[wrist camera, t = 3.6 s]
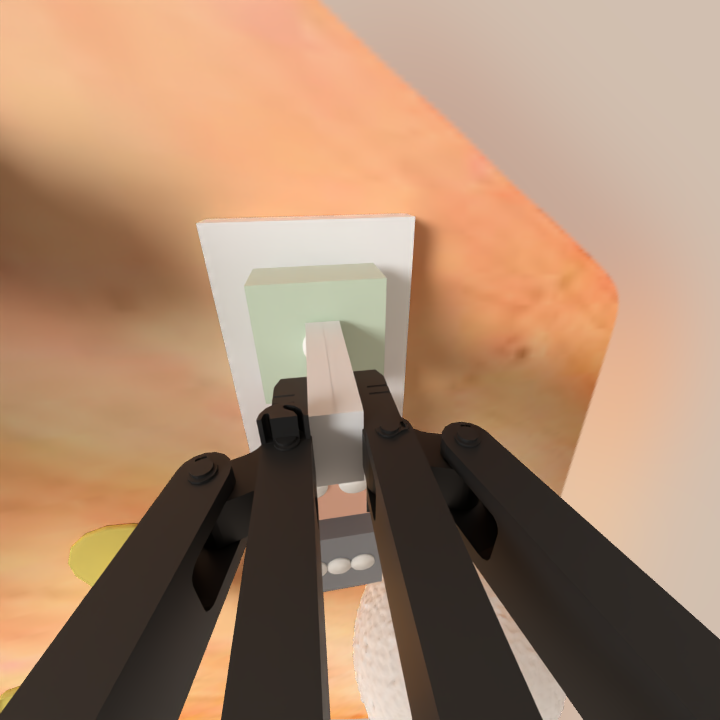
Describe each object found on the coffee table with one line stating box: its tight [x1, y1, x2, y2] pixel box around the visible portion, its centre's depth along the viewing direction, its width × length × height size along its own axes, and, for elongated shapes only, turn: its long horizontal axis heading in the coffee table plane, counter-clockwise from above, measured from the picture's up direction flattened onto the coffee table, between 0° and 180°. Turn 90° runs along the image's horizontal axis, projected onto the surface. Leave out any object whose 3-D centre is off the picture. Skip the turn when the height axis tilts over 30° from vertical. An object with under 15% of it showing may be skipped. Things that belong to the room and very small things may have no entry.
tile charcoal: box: [319, 512, 382, 592], centre depth 23 cm, size 6×6×3 cm
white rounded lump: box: [353, 563, 566, 720], centre depth 30 cm, size 20×18×16 cm
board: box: [196, 213, 415, 453], centre depth 23 cm, size 11×26×3 cm, turn 1°
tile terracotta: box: [317, 474, 369, 520], centre depth 19 cm, size 6×6×3 cm
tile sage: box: [244, 263, 387, 404], centre depth 17 cm, size 6×6×3 cm
